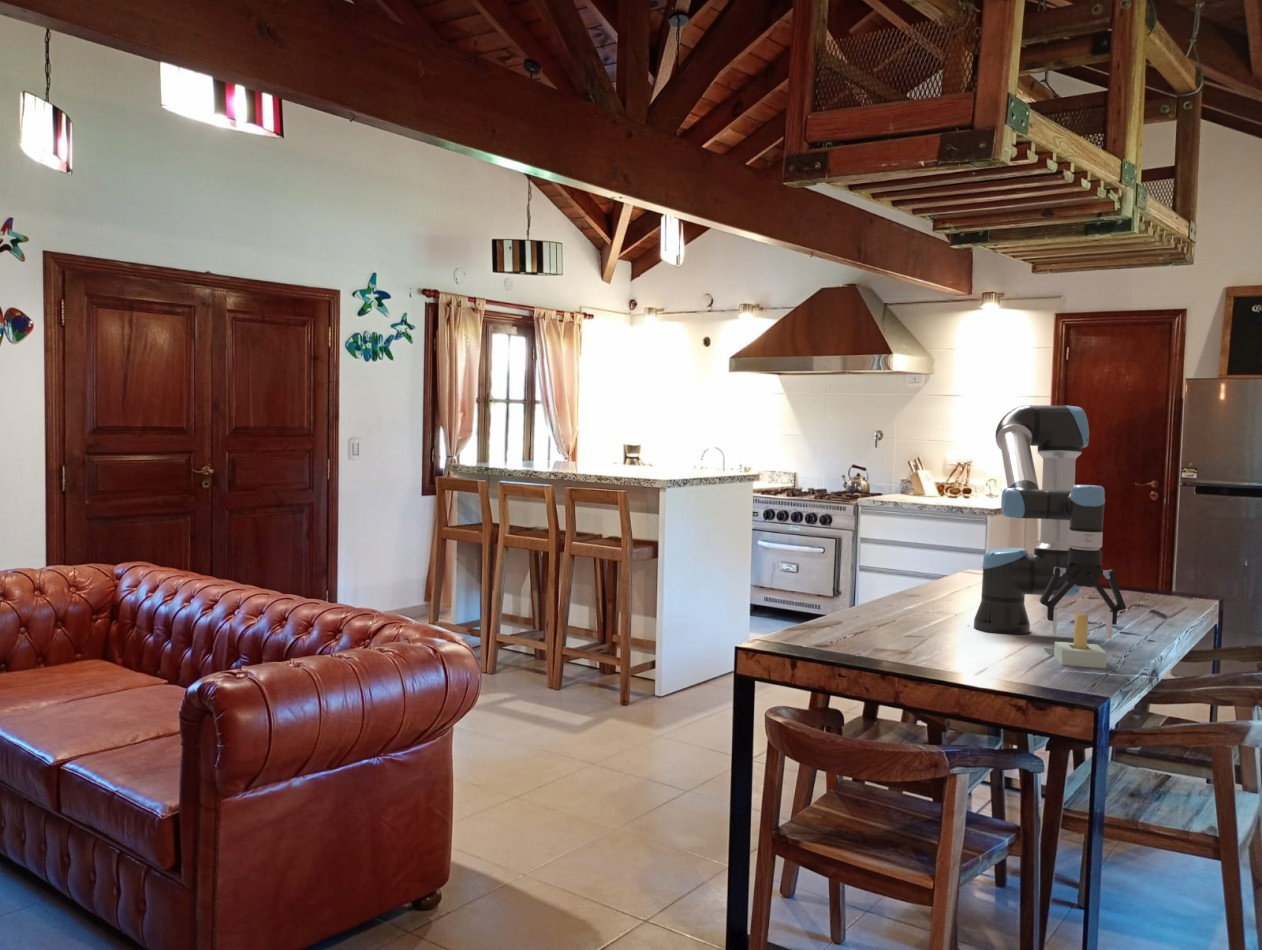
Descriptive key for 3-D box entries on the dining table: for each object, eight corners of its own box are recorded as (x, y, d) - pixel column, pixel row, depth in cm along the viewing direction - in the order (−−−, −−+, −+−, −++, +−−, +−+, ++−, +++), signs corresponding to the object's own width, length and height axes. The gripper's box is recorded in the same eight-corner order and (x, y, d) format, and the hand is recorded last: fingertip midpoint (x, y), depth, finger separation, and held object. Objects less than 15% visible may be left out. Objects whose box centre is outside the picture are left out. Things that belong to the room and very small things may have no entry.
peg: (1074, 664, 246) (1076, 615, 246) (1071, 661, 249) (1073, 613, 249) (1087, 665, 246) (1089, 616, 245) (1084, 662, 249) (1086, 614, 248)
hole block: (1061, 666, 244) (1062, 649, 244) (1053, 657, 254) (1054, 641, 253) (1106, 669, 242) (1107, 653, 241) (1096, 660, 251) (1097, 644, 251)
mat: (1048, 656, 255) (1049, 654, 255) (1043, 649, 263) (1043, 647, 263) (1100, 659, 252) (1100, 658, 252) (1092, 653, 260) (1092, 651, 260)
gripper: (1035, 547, 245) (1031, 635, 246) (1142, 552, 240) (1138, 642, 241) (1030, 543, 253) (1026, 629, 254) (1134, 549, 247) (1130, 636, 248)
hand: (1080, 635), depth 247 cm, fingers open, 12 cm apart
